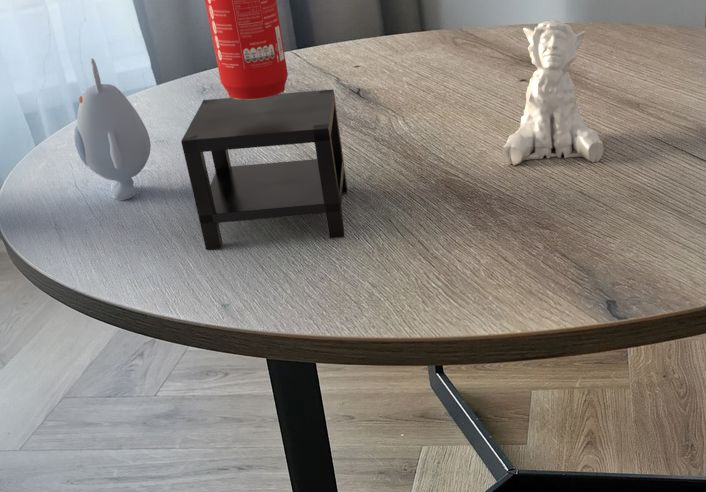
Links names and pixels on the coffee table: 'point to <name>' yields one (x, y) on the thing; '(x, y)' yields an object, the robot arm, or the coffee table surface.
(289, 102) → the miniature side table
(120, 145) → the toy figure
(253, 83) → the beverage can
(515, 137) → the seated beast figurine
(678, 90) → the coffee table surface
